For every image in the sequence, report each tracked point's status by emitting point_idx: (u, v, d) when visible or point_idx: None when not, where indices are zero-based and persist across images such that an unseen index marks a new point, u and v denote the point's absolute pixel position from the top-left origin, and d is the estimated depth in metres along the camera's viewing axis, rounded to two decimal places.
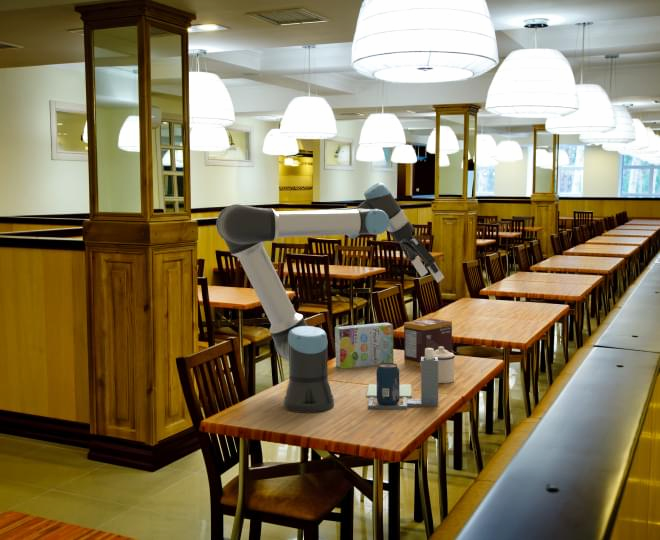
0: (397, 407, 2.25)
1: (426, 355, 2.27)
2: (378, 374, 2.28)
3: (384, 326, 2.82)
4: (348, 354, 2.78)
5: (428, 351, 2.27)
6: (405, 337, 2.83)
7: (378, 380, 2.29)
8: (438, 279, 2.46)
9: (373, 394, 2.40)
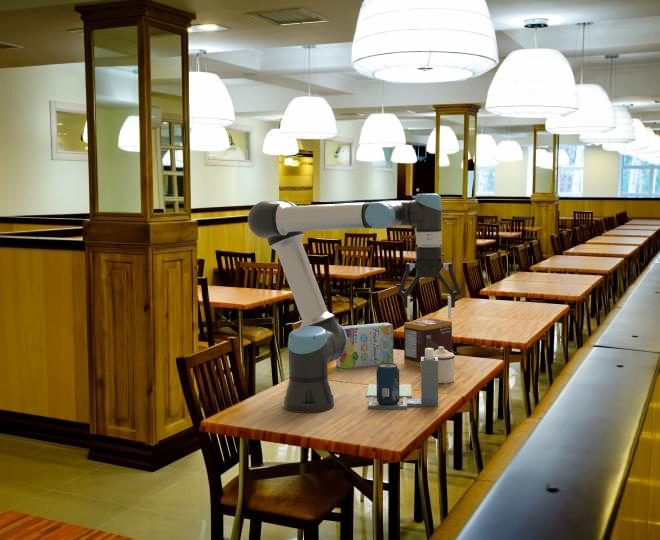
0: (397, 407, 2.25)
1: (426, 355, 2.27)
2: (378, 374, 2.28)
3: (384, 326, 2.82)
4: (348, 354, 2.78)
5: (428, 351, 2.27)
6: (405, 337, 2.83)
7: (378, 380, 2.29)
8: None
9: (373, 394, 2.40)
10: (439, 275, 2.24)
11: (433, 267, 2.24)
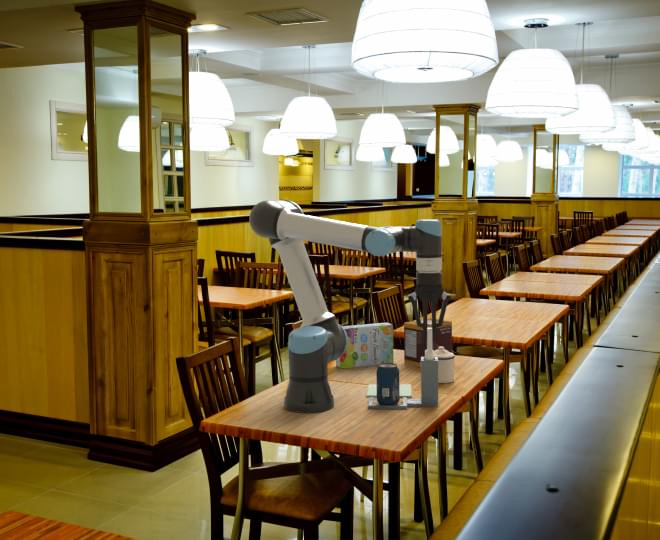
0: (397, 407, 2.25)
1: (426, 357, 2.27)
2: (378, 374, 2.28)
3: (384, 326, 2.82)
4: (348, 354, 2.78)
5: (428, 353, 2.27)
6: (405, 337, 2.83)
7: (378, 380, 2.29)
8: None
9: (373, 394, 2.40)
10: (434, 303, 2.25)
11: (434, 293, 2.24)
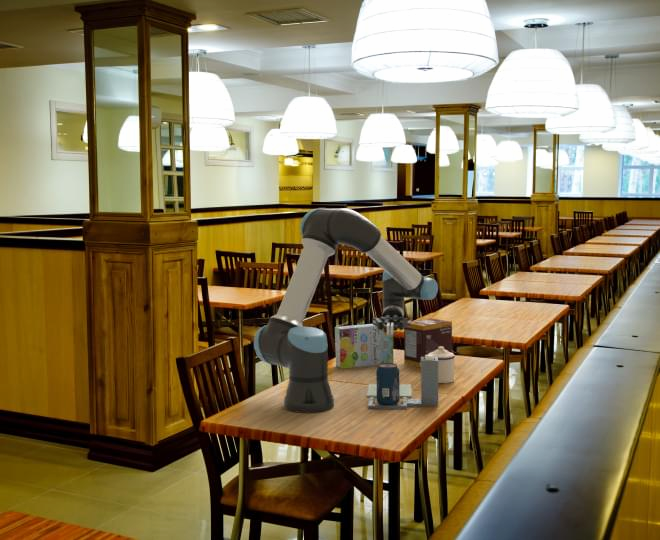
0: (397, 407, 2.25)
1: None
2: (378, 374, 2.28)
3: None
4: (348, 354, 2.78)
5: (428, 358, 2.27)
6: (405, 337, 2.83)
7: (378, 380, 2.29)
8: (393, 327, 2.42)
9: (373, 394, 2.40)
10: None
11: None
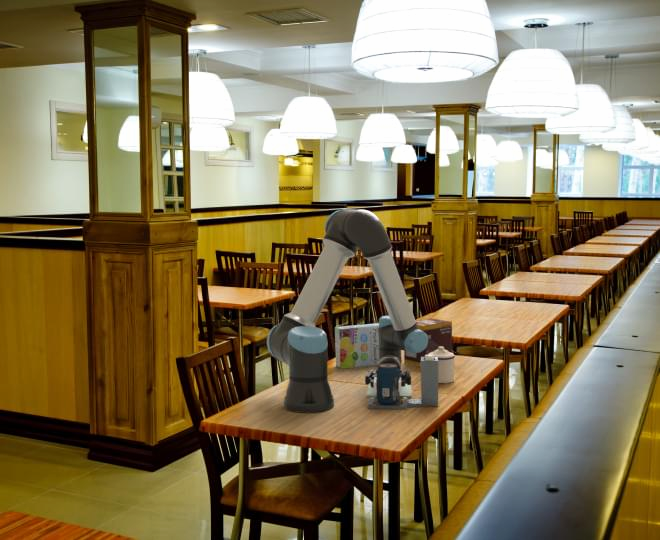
0: (397, 407, 2.25)
1: None
2: (378, 374, 2.28)
3: None
4: (348, 354, 2.78)
5: (428, 358, 2.27)
6: None
7: (378, 380, 2.29)
8: (401, 384, 2.26)
9: (373, 394, 2.40)
10: None
11: None
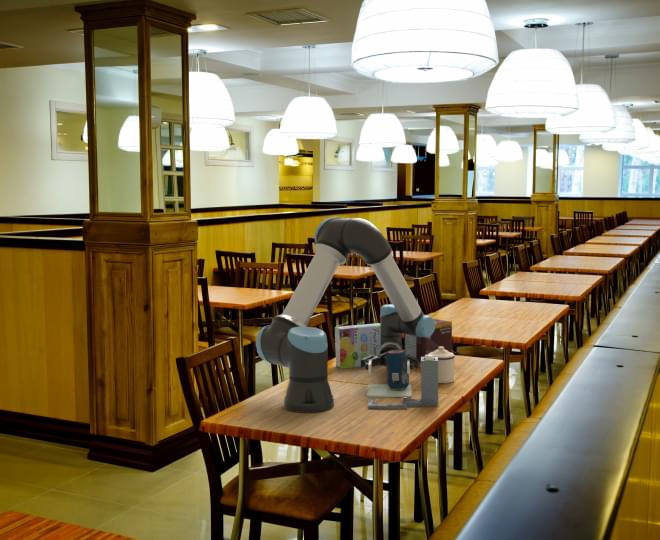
0: (397, 407, 2.25)
1: None
2: (387, 360, 2.43)
3: None
4: (348, 354, 2.78)
5: (428, 358, 2.27)
6: (405, 337, 2.83)
7: (387, 366, 2.43)
8: (409, 366, 2.40)
9: (373, 394, 2.40)
10: None
11: None
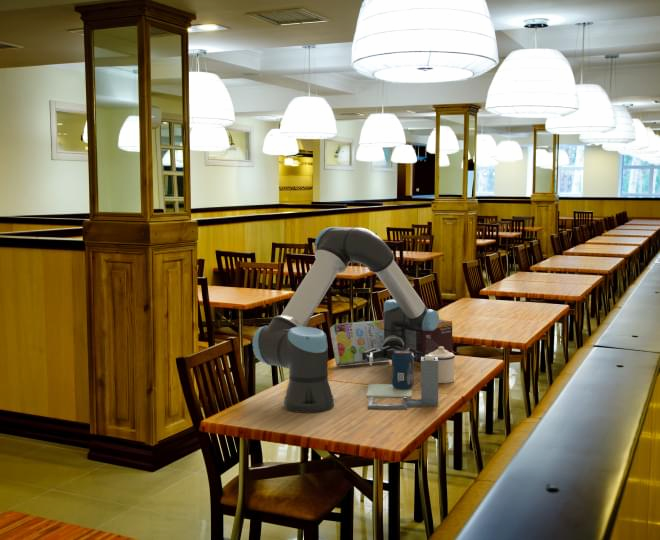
0: (397, 407, 2.25)
1: None
2: (393, 360, 2.44)
3: (377, 321, 2.88)
4: (346, 348, 2.80)
5: (428, 358, 2.27)
6: (405, 337, 2.83)
7: (393, 365, 2.44)
8: None
9: (373, 394, 2.40)
10: None
11: None
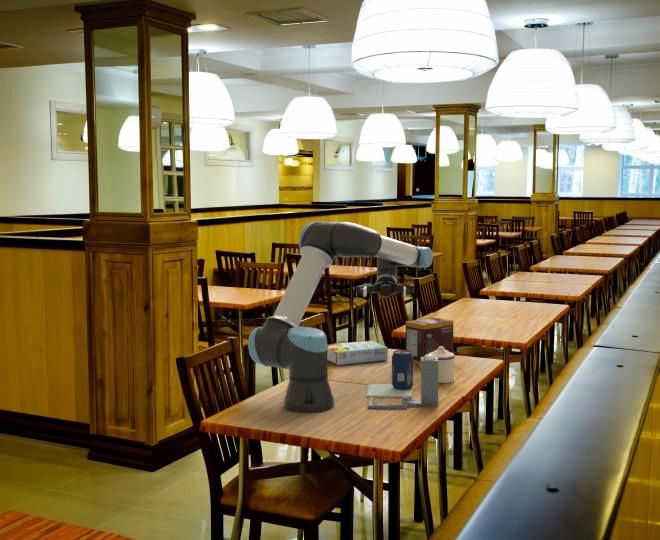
0: (397, 407, 2.25)
1: None
2: (393, 360, 2.44)
3: (365, 341, 3.01)
4: (339, 348, 2.87)
5: (428, 358, 2.27)
6: (406, 336, 2.85)
7: (393, 366, 2.44)
8: (405, 290, 2.57)
9: (373, 394, 2.40)
10: (376, 292, 2.70)
11: None
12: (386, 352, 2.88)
